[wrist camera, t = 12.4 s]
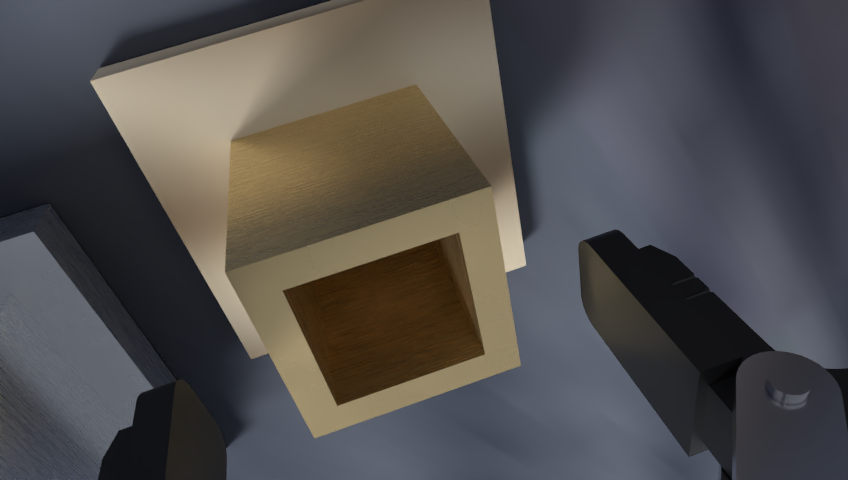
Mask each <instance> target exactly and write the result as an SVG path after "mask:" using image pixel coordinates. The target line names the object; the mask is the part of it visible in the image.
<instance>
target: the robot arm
mask: <svg viewBox="0 0 848 480" xmlns="http://www.w3.org/2000/svg"><path fill="white" fill-rule="evenodd" d="M579 267H580V284H581V298H582V302H583V306H584V309H585V312H586V314H587V316H588V318H589V320H590V322H591V324H592V325H593V326H594V328H595V329H596V331H597V332H598V333H599V335H600V336H601V337H602V339H603V340H604V342H605V343H606V344H607V346H608V347H609V348H610V350H611V351H612V352H613V354H614V355H615V357H616V358H617V359H618V361H619V362H620V363H621V365H622V366H623V367H624V369H625V370H626V372H627V373H628V374H629V376H630V377H631V378H632V380H633V381H634V383H635V384H636V385H637V387H638V388H639V389H640V391H641V392H642V393H643V395H644V396H645V398H646V399H647V400H648V402H649V403H650V404H651V406H652V407H653V408H654V410H655V411H656V413H657V414H658V415H659V417H660V418H661V419H662V421H663V422H664V423H665V425H666V426H667V428H668V429H669V430H670V432H671V433H672V434H673V436H674V437H675V439H676V440H677V441H678V443H679V444H680V445H681V447H682V448H683V449H684V451H685V452H686V454H687V455H688V456H689V457H690V456H693V455H695V454H698V453H701V452H703V451H706V450H708V449H709V451H710V452H711V453H712V454H713V456H714V457H715V458H716V460H717V461H718V462H719V464H720V465H719V473H718V480H848V368H847V369H825V368H823V367H822V366H820V365H819V364H818V363H816V362H814V361H812V360H810V359H808V358H806V357H803V356H801V355H797V354H794V353H789V352H783V351H775V350H774V349H773V348H772V347H770V346H769V345H768V344H767V343H766V342H765V341H764V340H763V339H762V338H761V337H760V336H759V335H758V334H757V333H755V332H754V331H753V330H752V329H751V328H750V327H749V326H748V325H747V324H746V323H745V322H744V321H743V320H742V319H741V318H740V317H739V316H738V315H737V314H736V313H734V312H733V311H732V310H731V309H730V308H729V307H728V306H727V305H726V304H725V303H724V302H723V301H722V300H721V299H720V298H719V297H718V296H717V295H716V294H715V293H713V292H710V290H709V288H708V287H707V286H706V285H705V284H704V283H703V282H702V281H701V280H700V279H699V278H695V276H694V273H693V272H691V271H690V270H689V269H688V268H687V267H686V266H685V265H684V264H683V263H682V262H681V261H680V260H679V259H678V258H677V257H676V256H673V255H671V254H669V253H667V252H665V251H663V250H660V249H658V248H656V247H654V246H652V245H649V246H646V247H643V248H640V249H638V248H637V247H636V246H635V245H634V244H633V243H632V242H631V241H630V240H629V239H628V238H627V237H626V236H625V235H624V234H623V233H622V232H621V231H619V230H612V231H609V232H606V233H604V234H601V235H598V236H595V237H592V238H589V239H586V240H583V241H581V242H580V243H579ZM226 466H227V454H226V446H225V442H224V438H223V435H222V432H221V430H220V428H219V426H218V424H217V423H216V421H215V420H214V419H213V417H212V416H211V415H210V413H209V412H208V410H207V409H206V408H205V406H204V405H203V404H202V402H201V401H200V399H199V398H198V397H197V395H196V394H195V393H194V391H193V390H192V388H191V387H190V386H189V384H188V383H187V382H186V381H184V380H182V379H180V380H177V381H174V382H171V383H168V384H165V385H162V386H159V387H157V388H154V389H151V390H148V391H145V392H142V393H141V394H139V396H138V398H137V401H136V406H135V412H134V418H133V423H132V426H130V427H127V428H125V429H122V430H119V431H118V433H117V434H116V436H115V438H114V440H113V441H112V443H111V445H110V446H109V448H108V450H107V452H106V453H105V455H104V457H103V459H102V463H101V467H100V472H99V477H98V480H226Z"/></svg>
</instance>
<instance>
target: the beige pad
mask: <svg viewBox="0 0 848 480" xmlns="http://www.w3.org/2000/svg"><path fill="white" fill-rule="evenodd" d="M90 82H91V84H92V86H93V87H94V89H95V91H96V92H97V94H98V96H99V98H100V99H101V101H102V103H103V104H104V106H105V108H106V110H107V111H108V113H109V115H110V117H111V118H112V120H113V122H114V123H115V125H116V127H117V129H118V130H119V132H120V134H121V136H122V137H123V139H124V141H125V142H126V144H127V146H128V148H129V149H130V151H131V153H132V154H133V156H134V158H135V160H136V161H137V163H138V165H139V167H140V168H141V170H142V172H143V173H144V175H145V177H146V179H147V180H148V182H149V184H150V186H151V187H152V189H153V191H154V192H155V194H156V196H157V198H158V199H159V201H160V203H161V204H162V206H163V208H164V210H165V211H166V213H167V215H168V217H169V218H170V220H171V222H172V223H173V225H174V227H175V229H176V230H177V232H178V234H179V236H180V237H181V239H182V241H183V242H184V244H185V246H186V248H187V249H188V251H189V253H190V254H191V256H192V258H193V260H194V261H195V263H196V265H197V267H198V268H199V270H200V272H201V273H202V275H203V277H204V279H205V280H206V282H207V284H208V286H209V287H210V289H211V291H212V292H213V294H214V296H215V298H216V299H217V301H218V303H219V304H220V306H221V308H222V310H223V311H224V313H225V315H226V317H227V318H228V320H229V322H230V323H231V325H232V327H233V329H234V330H235V332H236V334H237V336H238V337H239V339H240V341H241V342H242V344H243V346H244V348H245V349H246V351H247V353H248V354H249V356H250V358H251V359H254V358H257V357H259V356H262V355H265V354H268V351H267V350H266V348H265V346H264V344H263V342H262V340H261V338H260V337H259V335H258V333H257V331H256V329H255V327H254V326H253V324H252V322H251V320H250V318H249V316H248V314H247V313H246V311H245V309H244V307H243V305H242V303H241V302H240V300H239V298H238V296H237V294H236V292H235V290H234V289H233V287H232V285H231V283H230V281H229V279H228V278H227V276H226V274H225V257H226V236H227V214H228V192H229V170H230V148H231V140H235V139H238V138H241V137H244V136H248V135H251V134H254V133H258V132H261V131H264V130H268V129H271V128H274V127H277V126H281V125H284V124H287V123H291V122H294V121H297V120H300V119H304V118H307V117H310V116H314V115H317V114H320V113H323V112H327V111H330V110H333V109H337V108H340V107H343V106H346V105H350V104H353V103H356V102H360V101H363V100H366V99H369V98H373V97H376V96H379V95H383V94H386V93H389V92H392V91H396V90H399V89H402V88H406V87H409V86H412V85H415V84H417V86H418V87H419V88H420V90H421V91H422V93H423V94H424V95H425V97H426V98H427V99H428V101H429V102H430V103H431V105H432V106H433V107H434V109H435V110H436V112H437V113H438V114H439V116H440V117H441V118H442V120H443V121H444V122H445V124H446V125H447V126H448V128H449V129H450V130H451V132H452V133H453V135H454V136H455V137H456V139H457V140H458V141H459V143H460V144H461V145H462V147H463V148H464V149H465V151H466V152H467V153H468V155H469V156H470V158H471V159H472V160H473V162H474V163H475V164H476V166H477V167H478V168H479V170H480V171H481V172H482V174H483V175H484V176H485V178H486V179H487V181H488V182H489V183H490V185H491V186H492V191H493V198H494V204H495V210H496V216H497V222H498V228H499V234H500V241H501V247H502V253H503V259H504V265H505V271H506V272H508V271H511V270H514V269H517V268H520V267H523V266H526V261H525V254H524V247H523V239H522V232H521V225H520V218H519V211H518V203H517V196H516V189H515V182H514V175H513V167H512V160H511V153H510V146H509V139H508V131H507V124H506V117H505V110H504V103H503V96H502V88H501V81H500V74H499V67H498V60H497V52H496V45H495V38H494V31H493V24H492V16H491V9H490V2H489V0H331V1H328V2H324V3H321V4H317V5H314V6H311V7H307V8H304V9H300V10H297V11H293V12H290V13H287V14H283V15H280V16H276V17H273V18H270V19H266V20H263V21H259V22H256V23H252V24H249V25H246V26H242V27H239V28H235V29H232V30H228V31H225V32H222V33H218V34H215V35H211V36H208V37H205V38H201V39H198V40H194V41H191V42H187V43H184V44H181V45H177V46H174V47H170V48H167V49H163V50H160V51H157V52H153V53H150V54H146V55H143V56H140V57H136V58H133V59H129V60H126V61H122V62H119V63H116V64H112V65H109V66H105V67H102V68H98V70H97V71H96V73H95V74H94V76H93V77H92V79H91V80H90Z"/></svg>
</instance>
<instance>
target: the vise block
mask: <svg viewBox="0 0 848 480" xmlns="http://www.w3.org/2000/svg"><path fill="white" fill-rule="evenodd" d="M174 381H177V380H176V379H175V377H174V376H173V375H172V373H171V372H170V370H169V369H168V368H167V366H166V365H165V363H164V362H163V361H162V359H161V358H160V357H159V355H158V354H157V352H156V351H155V350H154V348H153V347H152V345H151V344H150V343H149V341H148V340H147V338H146V337H145V336H144V334H143V333H142V331H141V330H140V329H139V327H138V326H137V324H136V323H135V322H134V320H133V319H132V317H131V316H130V315H129V313H128V312H127V311H126V309H125V308H124V306H123V305H122V304H121V302H120V301H119V299H118V298H117V297H116V295H115V294H114V292H113V291H112V290H111V288H110V287H109V285H108V284H107V283H106V281H105V280H104V278H103V277H102V276H101V274H100V273H99V271H98V270H97V269H96V267H95V266H94V265H93V263H92V262H91V260H90V259H89V258H88V256H87V255H86V253H85V252H84V251H83V249H82V248H81V246H80V245H79V244H78V242H77V241H76V239H75V238H74V237H73V235H72V234H71V232H70V231H69V230H68V228H67V227H66V225H65V224H64V223H63V221H62V220H61V219H60V217H59V216H58V214H57V213H56V212H55V210H54V209H53V207H52V206H51V205H50V203H48V204H45V205H42V206H38V207H35V208H32V209H29V210H25V211H22V212H19V213H16V214H12V215H9V216H6V217H3V218H0V480H98V477H99V472H100V467H101V463H102V459H103V457H104V455H105V453H106V452H107V450H108V448H109V446H110V445H111V443H112V441H113V440H114V438H115V436H116V434H117V433H118V431H119V430H122V429H125V428H127V427H130V426H132V423H133V418H134V412H135V406H136V401H137V398H138V396H139V394H141V393H142V392H145V391H148V390H151V389H154V388H157V387H159V386H162V385H165V384H168V383H171V382H174Z"/></svg>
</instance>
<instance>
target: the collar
mask: <svg viewBox="0 0 848 480" xmlns="http://www.w3.org/2000/svg"><path fill="white" fill-rule="evenodd" d="M225 274H226V276H227V278H228V279H229V281H230V283H231V285H232V287H233V289H234V290H235V292H236V294H237V296H238V298H239V300H240V302H241V303H242V305H243V307H244V309H245V311H246V313H247V314H248V316H249V318H250V320H251V322H252V324H253V326H254V327H255V329H256V331H257V333H258V335H259V337H260V338H261V340H262V342H263V344H264V346H265V348H266V350H267V351H268V353H269V355H270V357H271V359H272V361H273V362H274V364H275V366H276V368H277V370H278V372H279V374H280V375H281V377H282V379H283V381H284V383H285V385H286V386H287V388H288V390H289V392H290V394H291V396H292V398H293V399H294V401H295V403H296V405H297V407H298V409H299V410H300V412H301V414H302V416H303V418H304V420H305V422H306V423H307V425H308V427H309V429H310V431H311V433H312V434H313V436H314V438H317V437H320V436H323V435H326V434H328V433H331V432H334V431H337V430H340V429H343V428H345V427H348V426H351V425H354V424H357V423H360V422H362V421H365V420H368V419H371V418H374V417H377V416H379V415H382V414H385V413H388V412H391V411H394V410H396V409H399V408H402V407H405V406H408V405H411V404H413V403H416V402H419V401H422V400H425V399H427V398H430V397H433V396H436V395H439V394H442V393H444V392H447V391H450V390H453V389H456V388H459V387H461V386H464V385H467V384H470V383H473V382H476V381H478V380H481V379H484V378H487V377H490V376H493V375H495V374H498V373H501V372H504V371H507V370H510V369H512V368H515V367H518V366H521V364H520V357H519V351H518V345H517V339H516V333H515V327H514V321H513V314H512V308H511V302H510V296H509V290H508V284H507V278H506V271H505V265H504V259H503V253H502V247H501V241H500V234H499V228H498V222H497V216H496V210H495V204H494V198H493V191H492V186H491V185H490V183H489V182H488V181H487V179H486V178H485V176H484V175H483V174H482V172H481V171H480V170H479V168H478V167H477V166H476V164H475V163H474V162H473V160H472V159H471V158H470V156H469V155H468V153H467V152H466V151H465V149H464V148H463V147H462V145H461V144H460V143H459V141H458V140H457V139H456V137H455V136H454V135H453V133H452V132H451V130H450V129H449V128H448V126H447V125H446V124H445V122H444V121H443V120H442V118H441V117H440V116H439V114H438V113H437V112H436V110H435V109H434V107H433V106H432V105H431V103H430V102H429V101H428V99H427V98H426V97H425V95H424V94H423V93H422V91H421V90H420V88H419V87H418V86H417V84H415V85H412V86H409V87H406V88H402V89H399V90H396V91H392V92H389V93H386V94H383V95H379V96H376V97H373V98H369V99H366V100H363V101H360V102H356V103H353V104H350V105H346V106H343V107H340V108H337V109H333V110H330V111H327V112H323V113H320V114H317V115H314V116H310V117H307V118H304V119H300V120H297V121H294V122H291V123H287V124H284V125H281V126H277V127H274V128H271V129H268V130H264V131H261V132H258V133H254V134H251V135H248V136H244V137H241V138H238V139H235V140H231V148H230V170H229V192H228V214H227V236H226V257H225Z"/></svg>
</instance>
